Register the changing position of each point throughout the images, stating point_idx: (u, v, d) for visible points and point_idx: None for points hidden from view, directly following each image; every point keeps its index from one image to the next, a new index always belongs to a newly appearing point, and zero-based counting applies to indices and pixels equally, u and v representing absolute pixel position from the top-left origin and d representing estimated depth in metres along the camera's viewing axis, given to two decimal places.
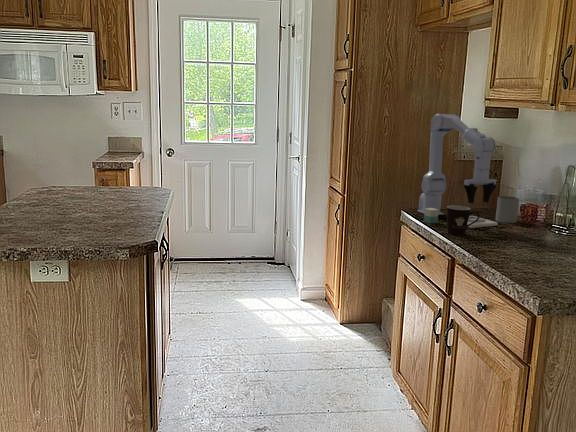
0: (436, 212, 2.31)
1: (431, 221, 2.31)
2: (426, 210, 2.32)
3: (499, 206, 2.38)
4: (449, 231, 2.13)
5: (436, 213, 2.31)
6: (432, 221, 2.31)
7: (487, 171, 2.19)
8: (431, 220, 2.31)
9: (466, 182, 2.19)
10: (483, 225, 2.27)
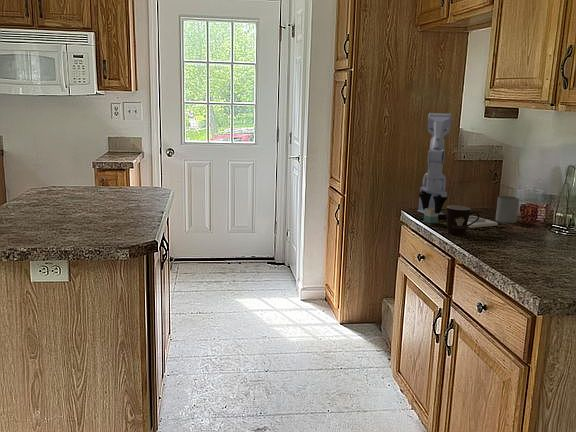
0: None
1: (431, 221, 2.31)
2: (426, 210, 2.32)
3: (499, 206, 2.38)
4: (449, 231, 2.13)
5: None
6: (432, 221, 2.31)
7: (429, 181, 2.28)
8: (431, 220, 2.31)
9: None
10: (483, 225, 2.27)
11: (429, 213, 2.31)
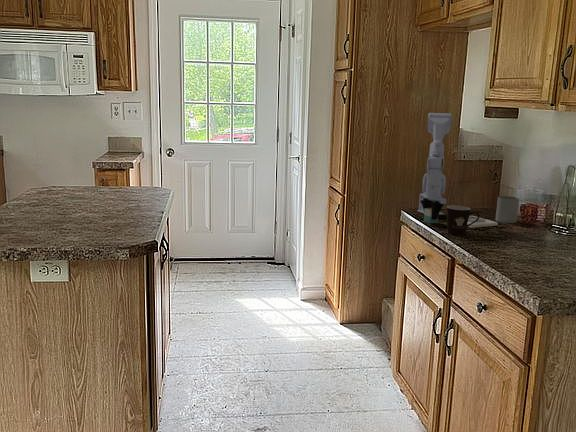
0: None
1: (431, 221, 2.31)
2: (426, 210, 2.32)
3: (499, 206, 2.38)
4: (449, 231, 2.13)
5: None
6: (432, 221, 2.31)
7: (428, 187, 2.29)
8: (431, 220, 2.31)
9: None
10: (483, 225, 2.27)
11: (429, 213, 2.31)
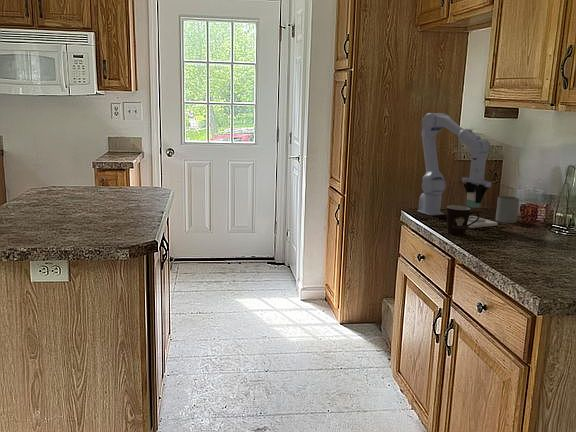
0: None
1: (474, 205, 2.30)
2: (469, 194, 2.31)
3: (499, 206, 2.38)
4: (449, 231, 2.13)
5: None
6: (475, 205, 2.30)
7: (472, 171, 2.28)
8: (474, 204, 2.30)
9: None
10: (483, 225, 2.27)
11: (472, 197, 2.30)
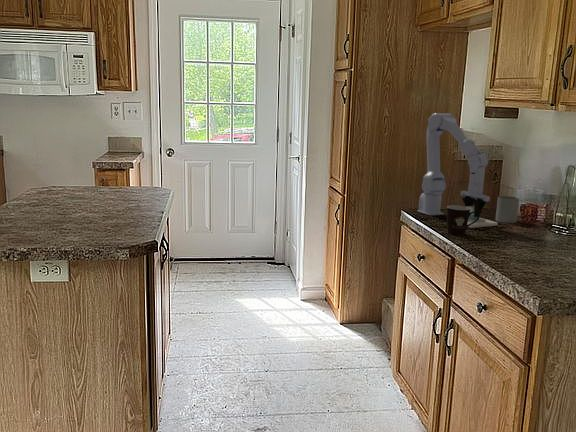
0: None
1: (473, 219, 2.31)
2: None
3: (499, 206, 2.38)
4: (449, 231, 2.13)
5: None
6: (474, 219, 2.31)
7: (471, 185, 2.29)
8: (473, 218, 2.31)
9: None
10: (483, 225, 2.27)
11: (471, 211, 2.31)
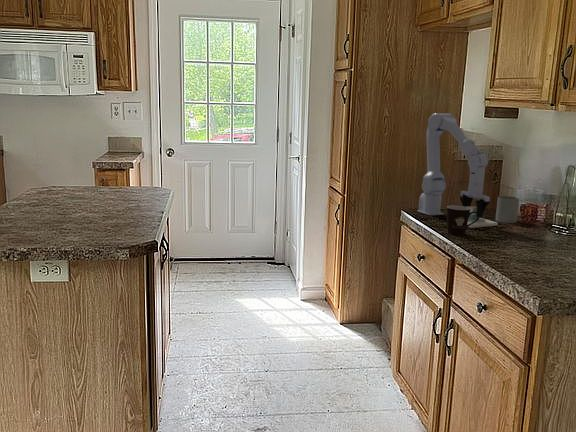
0: None
1: (473, 219, 2.31)
2: None
3: (499, 206, 2.38)
4: (449, 231, 2.13)
5: None
6: (474, 219, 2.31)
7: (471, 185, 2.29)
8: (473, 218, 2.31)
9: None
10: (483, 225, 2.27)
11: (471, 211, 2.31)
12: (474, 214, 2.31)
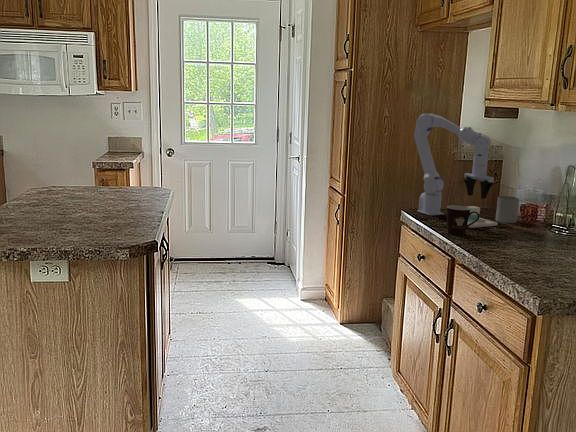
0: (478, 210, 2.31)
1: (473, 219, 2.31)
2: None
3: (499, 206, 2.38)
4: (449, 231, 2.13)
5: (478, 211, 2.31)
6: (474, 219, 2.31)
7: (475, 166, 2.35)
8: (473, 218, 2.31)
9: None
10: (483, 225, 2.27)
11: (471, 211, 2.31)
12: (474, 214, 2.31)
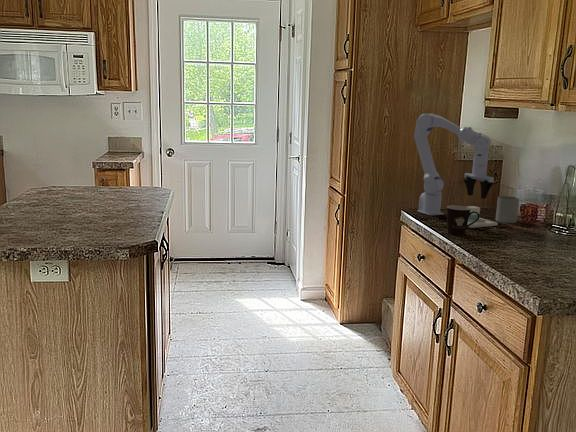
0: (478, 210, 2.31)
1: (473, 219, 2.31)
2: None
3: (499, 206, 2.38)
4: (449, 231, 2.13)
5: (478, 211, 2.31)
6: (474, 219, 2.31)
7: (475, 166, 2.35)
8: (473, 218, 2.31)
9: None
10: (483, 225, 2.27)
11: (471, 211, 2.31)
12: (474, 214, 2.31)
